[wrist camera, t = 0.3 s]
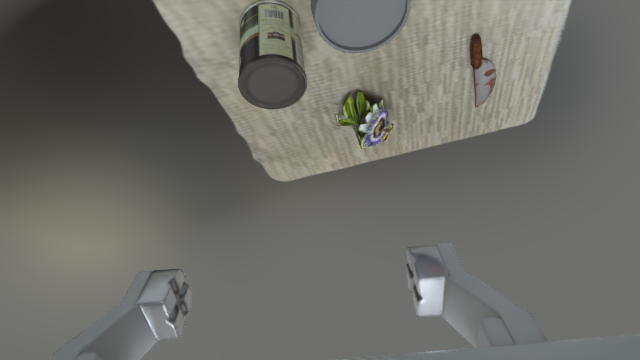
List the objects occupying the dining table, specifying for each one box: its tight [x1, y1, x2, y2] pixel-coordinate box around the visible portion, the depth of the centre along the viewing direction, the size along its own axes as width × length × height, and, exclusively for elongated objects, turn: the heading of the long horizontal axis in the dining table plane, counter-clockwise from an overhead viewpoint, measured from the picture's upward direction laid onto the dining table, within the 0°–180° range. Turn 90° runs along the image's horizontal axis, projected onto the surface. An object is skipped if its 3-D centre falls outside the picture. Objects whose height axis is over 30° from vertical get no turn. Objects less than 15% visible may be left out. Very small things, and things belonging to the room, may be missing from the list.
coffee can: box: [238, 0, 307, 109], centre depth 62 cm, size 10×10×14 cm
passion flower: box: [335, 90, 393, 151], centre depth 83 cm, size 11×11×12 cm
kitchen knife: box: [471, 35, 496, 108], centre depth 78 cm, size 21×2×5 cm
